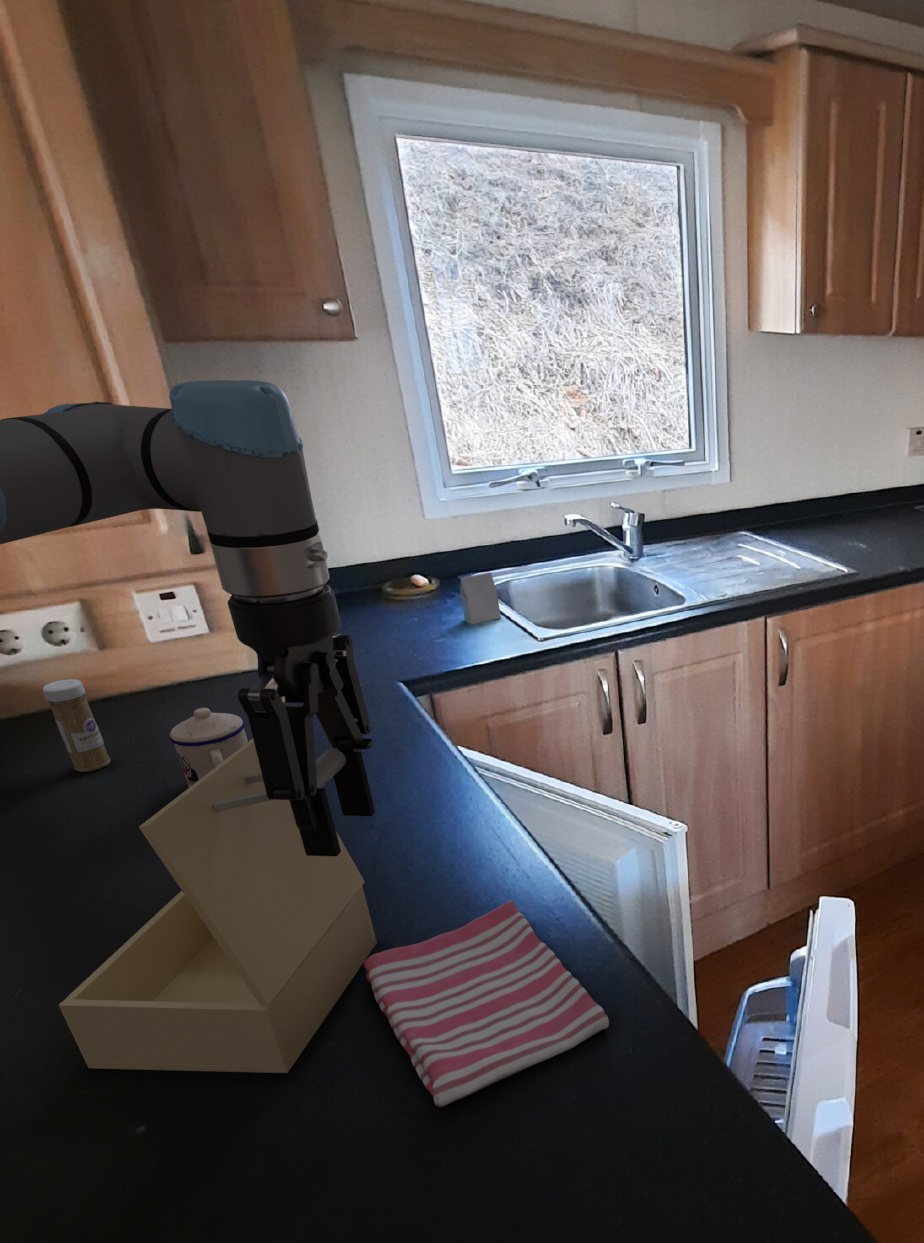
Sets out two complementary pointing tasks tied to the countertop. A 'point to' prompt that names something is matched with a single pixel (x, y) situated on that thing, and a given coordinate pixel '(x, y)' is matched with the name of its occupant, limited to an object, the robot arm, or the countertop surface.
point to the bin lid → (253, 869)
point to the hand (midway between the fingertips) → (342, 832)
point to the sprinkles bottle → (76, 724)
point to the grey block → (479, 599)
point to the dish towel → (481, 1003)
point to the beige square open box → (208, 998)
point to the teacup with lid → (206, 741)
